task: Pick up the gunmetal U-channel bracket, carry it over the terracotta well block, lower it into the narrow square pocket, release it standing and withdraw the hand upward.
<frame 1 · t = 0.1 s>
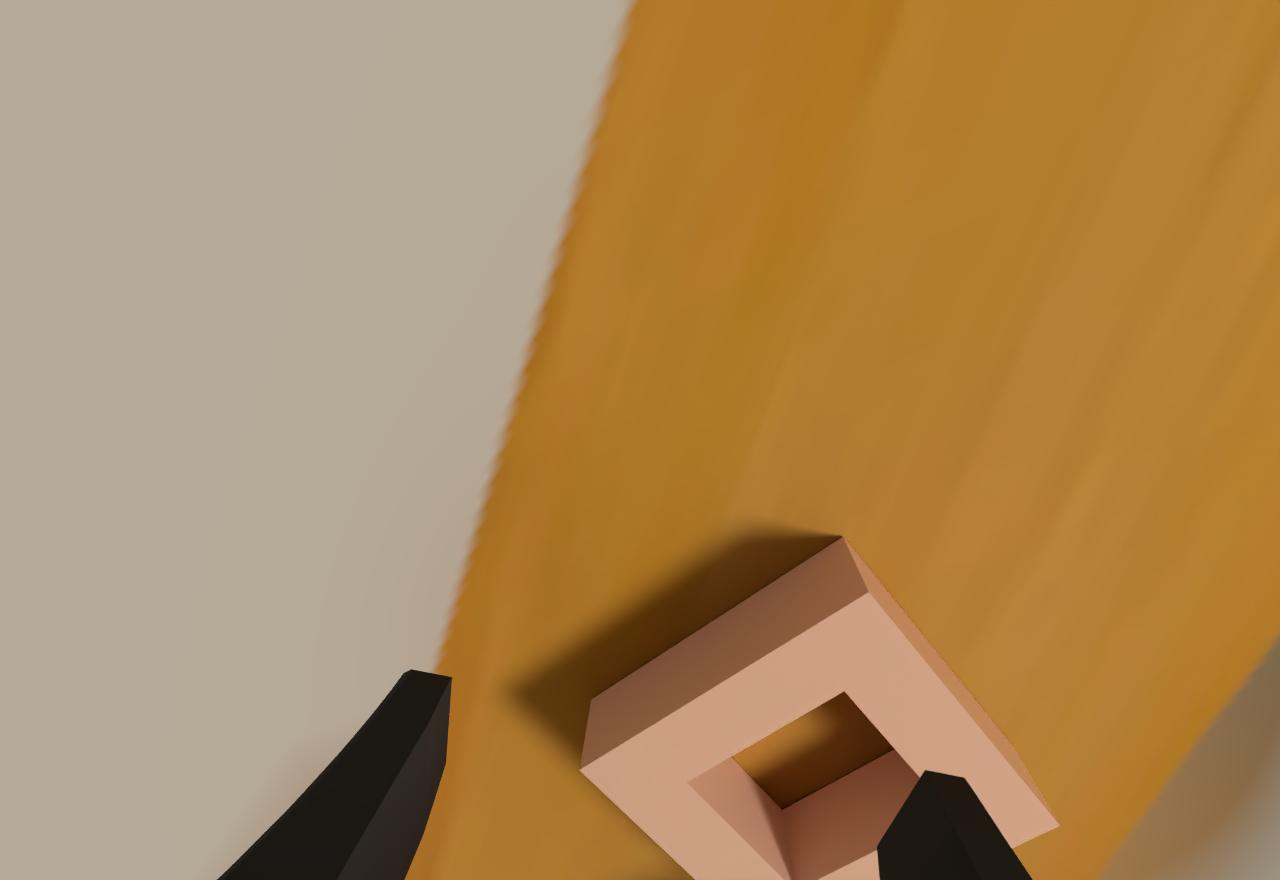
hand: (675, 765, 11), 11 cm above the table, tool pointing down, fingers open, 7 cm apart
well: (801, 723, 23), on the table
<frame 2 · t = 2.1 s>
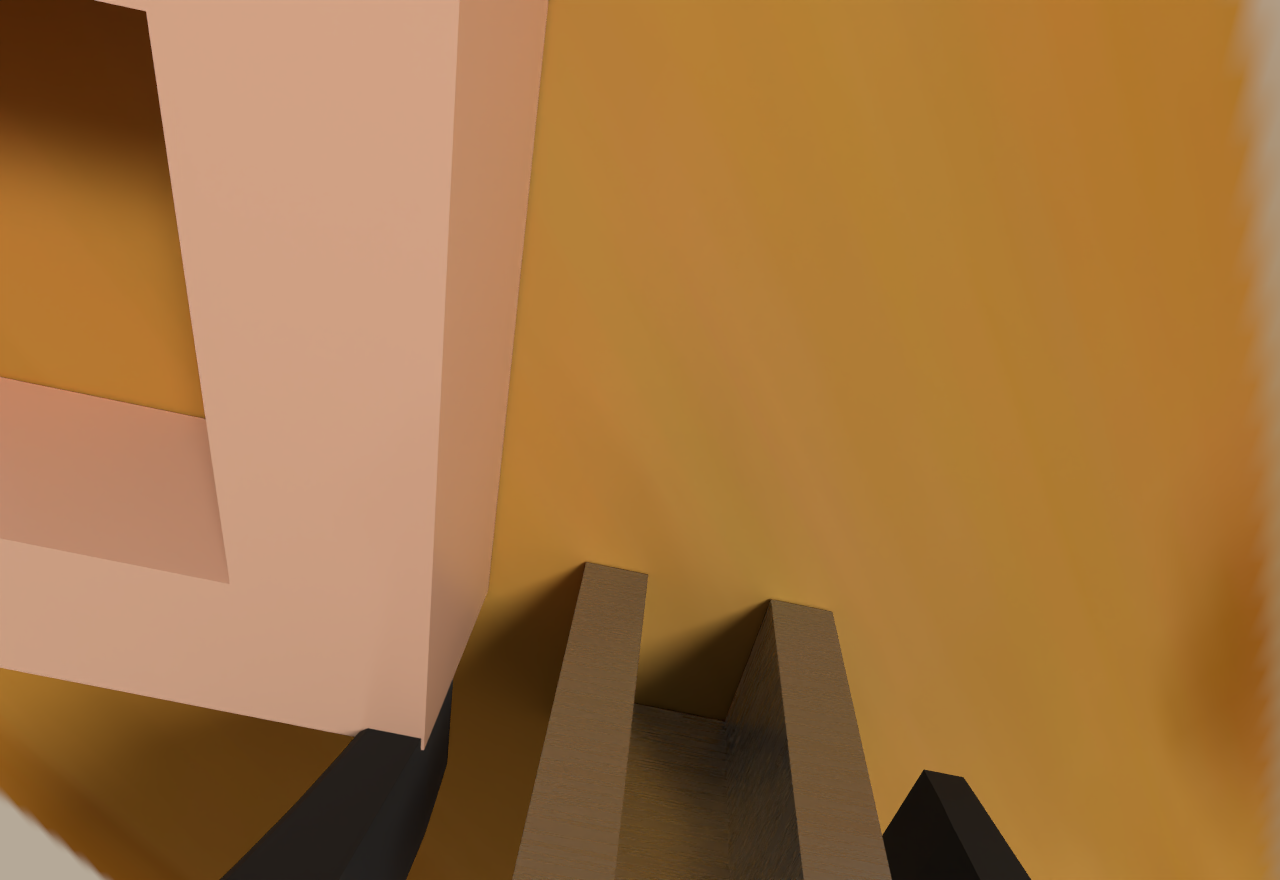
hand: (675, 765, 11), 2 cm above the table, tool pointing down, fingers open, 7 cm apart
well: (132, 223, 9), on the table
bracket: (682, 672, 12), on the table
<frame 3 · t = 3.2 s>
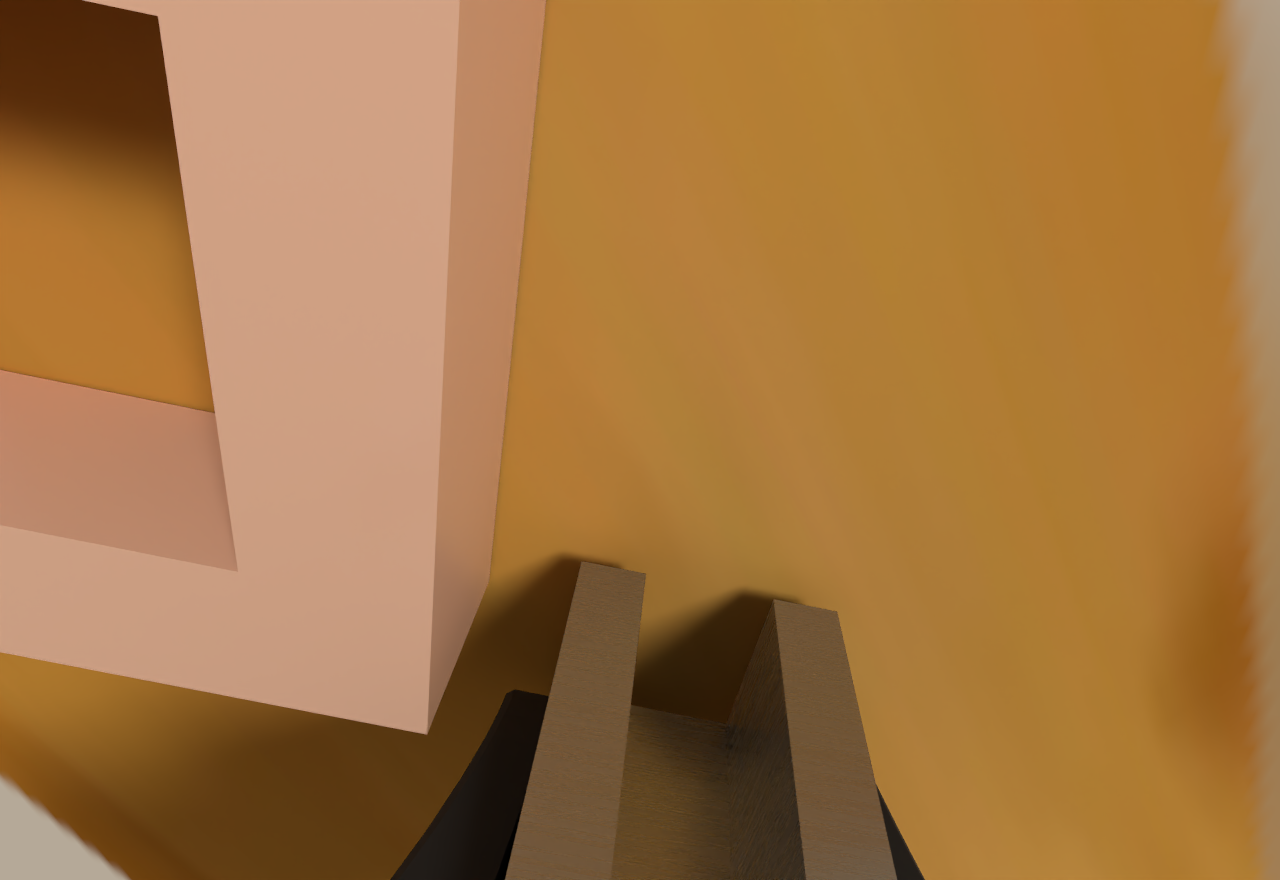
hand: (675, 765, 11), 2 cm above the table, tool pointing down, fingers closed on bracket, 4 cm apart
well: (140, 221, 9), on the table
bracket: (682, 674, 12), point 1 cm above the table, touching gripper
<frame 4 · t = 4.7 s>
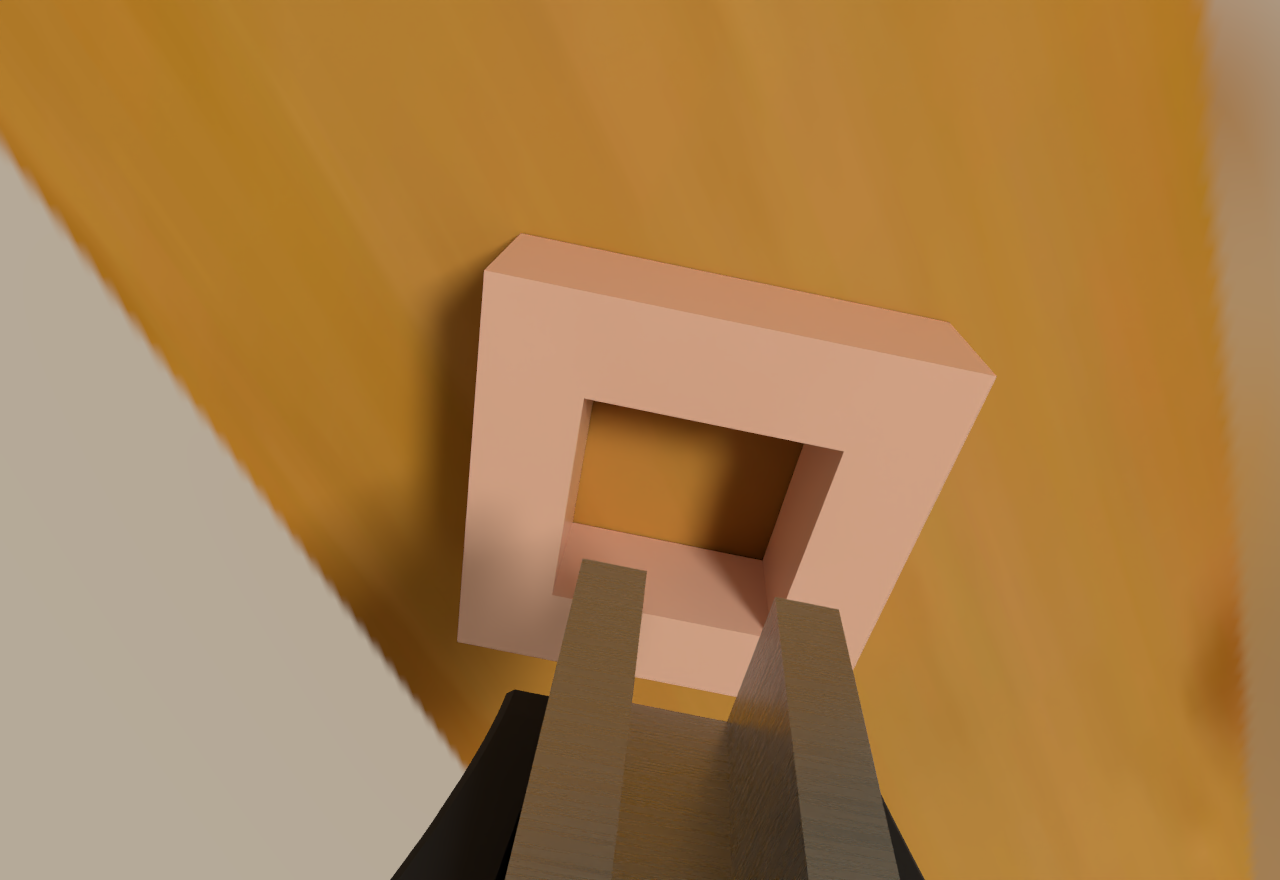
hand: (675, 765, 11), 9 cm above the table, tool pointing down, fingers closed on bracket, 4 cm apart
well: (688, 460, 18), on the table
bracket: (683, 672, 12), point 8 cm above the table, touching gripper
when the fingers open (3 cm above the table, at t = 6.3 s): bracket drops 2 cm, resting in well.
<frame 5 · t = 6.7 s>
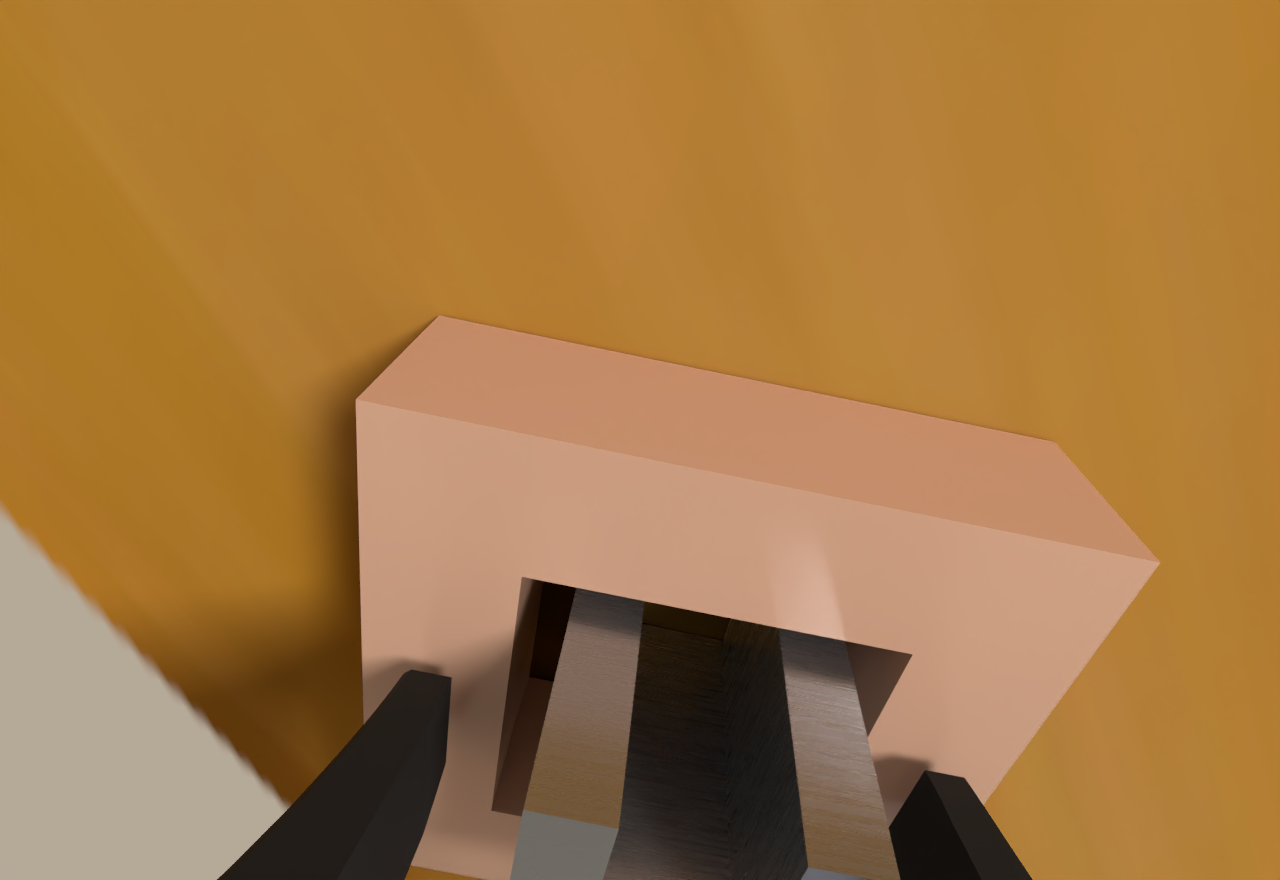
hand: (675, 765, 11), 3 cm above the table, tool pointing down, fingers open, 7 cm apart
well: (682, 608, 14), on the table
bracket: (685, 593, 13), resting in well
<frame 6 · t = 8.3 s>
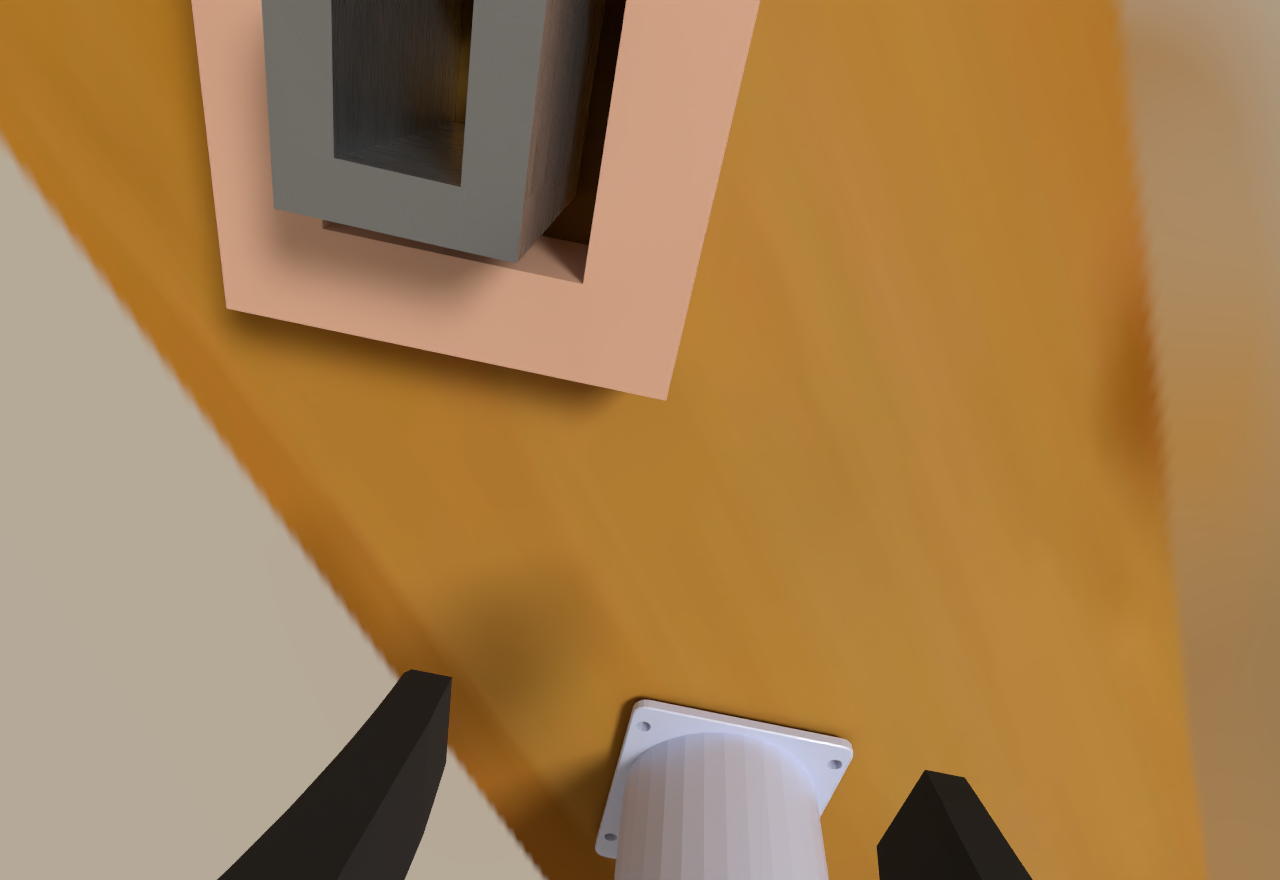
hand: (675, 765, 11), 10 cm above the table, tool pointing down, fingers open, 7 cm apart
well: (501, 102, 16), on the table
bracket: (502, 83, 16), resting in well
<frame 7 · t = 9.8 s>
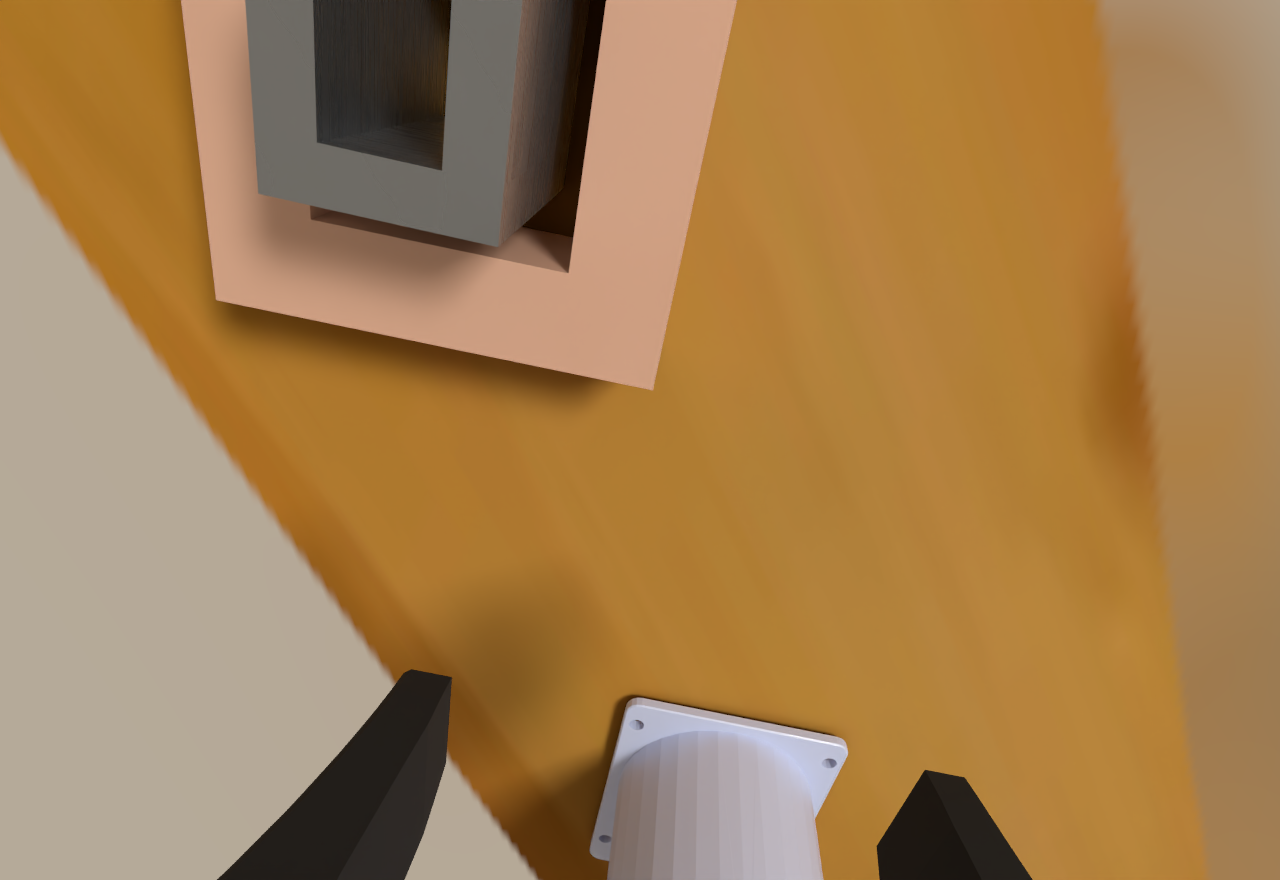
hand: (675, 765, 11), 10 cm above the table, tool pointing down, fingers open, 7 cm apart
well: (489, 96, 16), on the table
bracket: (489, 78, 16), resting in well
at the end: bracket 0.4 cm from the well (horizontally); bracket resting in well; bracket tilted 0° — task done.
